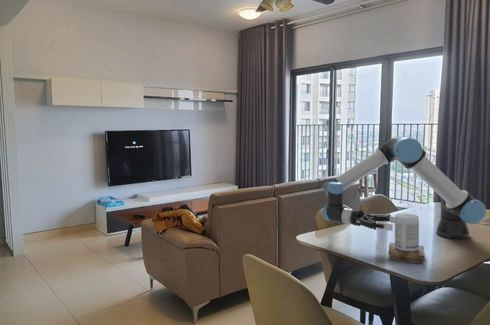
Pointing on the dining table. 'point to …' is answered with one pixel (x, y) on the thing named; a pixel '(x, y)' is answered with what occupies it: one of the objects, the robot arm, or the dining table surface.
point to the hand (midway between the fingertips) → (398, 224)
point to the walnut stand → (406, 254)
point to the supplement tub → (406, 232)
